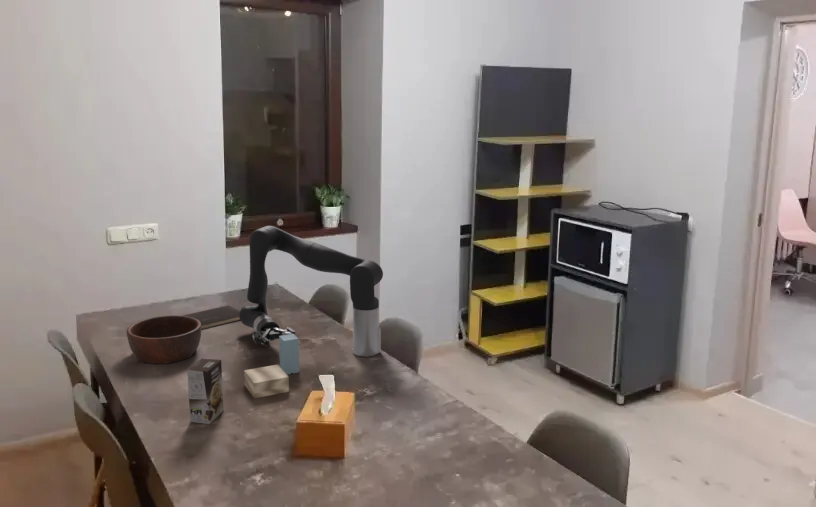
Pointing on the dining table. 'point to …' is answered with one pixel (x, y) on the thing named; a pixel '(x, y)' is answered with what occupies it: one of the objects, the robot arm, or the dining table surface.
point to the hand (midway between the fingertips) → (280, 342)
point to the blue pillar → (289, 353)
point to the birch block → (266, 381)
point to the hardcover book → (216, 316)
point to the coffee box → (205, 390)
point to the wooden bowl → (164, 338)
